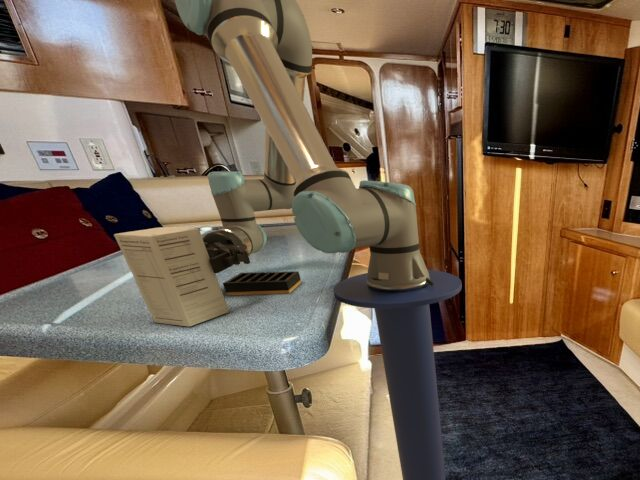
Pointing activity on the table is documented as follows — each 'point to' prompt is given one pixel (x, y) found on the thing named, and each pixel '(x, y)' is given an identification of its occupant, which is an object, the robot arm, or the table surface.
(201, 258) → the supplement box
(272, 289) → the dish rack
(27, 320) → the table surface
